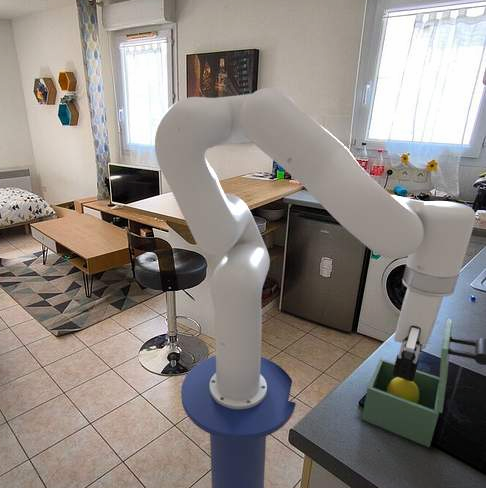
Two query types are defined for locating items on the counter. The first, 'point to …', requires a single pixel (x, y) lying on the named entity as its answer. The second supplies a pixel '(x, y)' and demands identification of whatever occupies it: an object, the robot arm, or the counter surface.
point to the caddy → (402, 405)
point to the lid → (482, 355)
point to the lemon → (404, 389)
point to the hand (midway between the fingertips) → (407, 362)
